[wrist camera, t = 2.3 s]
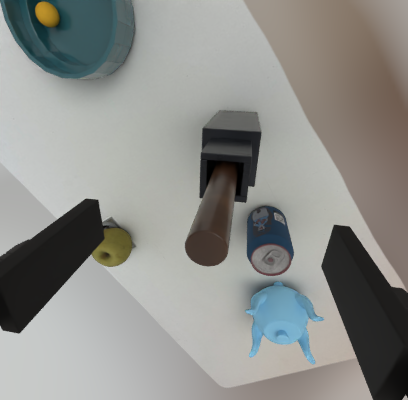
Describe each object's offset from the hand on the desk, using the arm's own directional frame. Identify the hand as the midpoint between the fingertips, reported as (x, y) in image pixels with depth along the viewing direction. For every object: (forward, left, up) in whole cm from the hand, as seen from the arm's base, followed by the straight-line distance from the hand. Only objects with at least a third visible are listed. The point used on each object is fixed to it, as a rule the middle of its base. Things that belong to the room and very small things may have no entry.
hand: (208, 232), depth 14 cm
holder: (0, 0, -30) cm, 30 cm away
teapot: (-12, +35, -30) cm, 48 cm away
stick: (0, 0, -14) cm, 14 cm away
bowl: (+24, -15, -30) cm, 41 cm away
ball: (+28, -15, -28) cm, 42 cm away
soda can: (-7, +16, -30) cm, 35 cm away
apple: (+23, +24, -30) cm, 45 cm away
